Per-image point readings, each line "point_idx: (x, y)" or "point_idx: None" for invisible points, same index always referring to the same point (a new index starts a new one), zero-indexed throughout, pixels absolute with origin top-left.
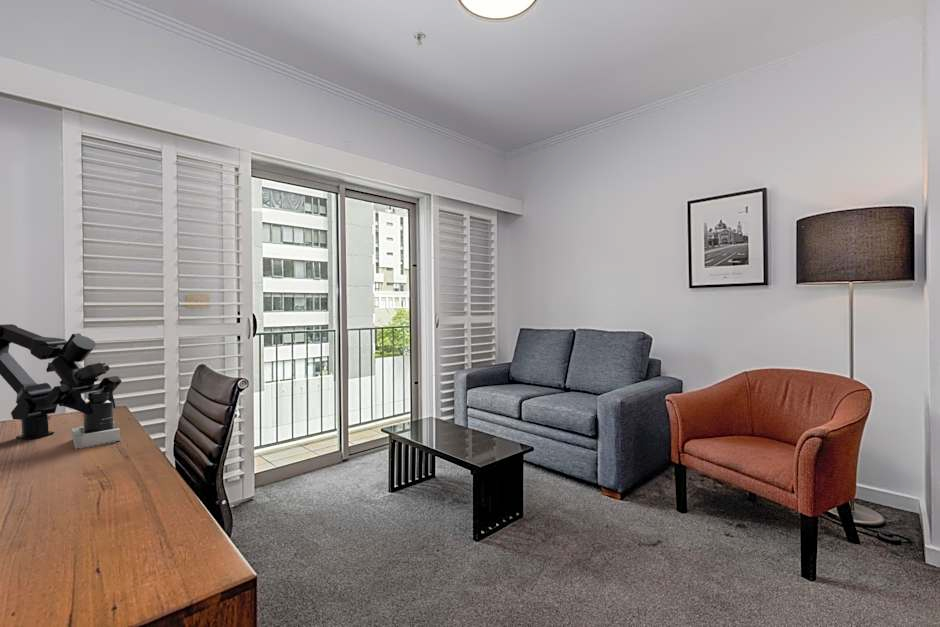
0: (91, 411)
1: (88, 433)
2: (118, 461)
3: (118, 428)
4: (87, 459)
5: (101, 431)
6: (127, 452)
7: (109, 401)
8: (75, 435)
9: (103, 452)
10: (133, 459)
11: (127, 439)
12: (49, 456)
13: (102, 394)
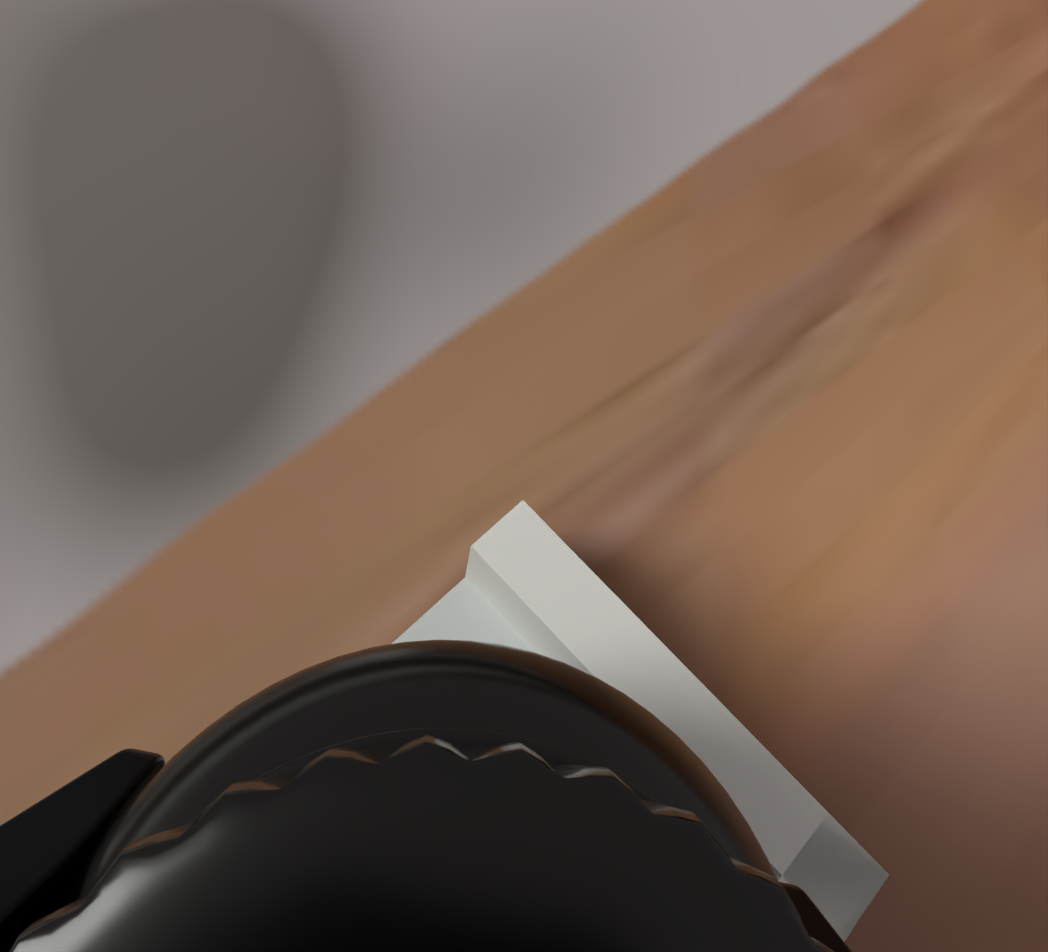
0: (786, 891)
1: (739, 792)
2: (989, 218)
3: (489, 542)
4: (1009, 464)
5: (636, 674)
6: (813, 271)
7: (374, 700)
8: (845, 920)
9: (839, 461)
10: (936, 152)
11: (437, 515)
12: (1033, 945)
13: (665, 805)
